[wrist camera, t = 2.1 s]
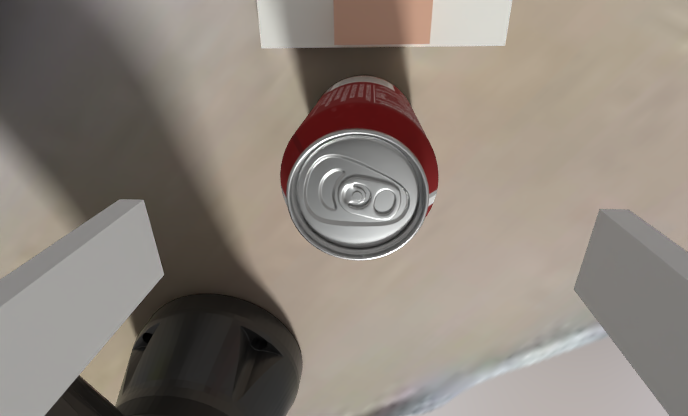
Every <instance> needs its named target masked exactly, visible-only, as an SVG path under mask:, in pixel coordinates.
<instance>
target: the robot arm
mask: <svg viewBox="0 0 688 416" xmlns="http://www.w3.org/2000/svg"><path fill="white" fill-rule="evenodd" d="M163 276H164V272H163V268H162V265H161V261H160V257H159V254H158V250H157V246H156V243H155V239H154V236H153V232H152V228H151V225H150V221H149V217H148V214H147V210H146V206H145V203H144V200H133V199H119V200H118V201H116V202H115V203H113V204H112V205H110V206H109V207H107V208H106V209H104V210H103V211H101V212H100V213H98V214H97V215H95V216H94V217H92V218H91V219H89V220H88V221H86V222H85V223H83V224H82V225H81V226H79V227H78V228H76V229H75V230H73V231H72V232H70V233H69V234H67V235H66V236H64V237H63V238H61V239H60V240H58V241H57V242H55V243H54V244H52V245H51V246H49V247H48V248H46V249H45V250H43V251H42V252H40V253H39V254H38V255H36V256H35V257H33V258H32V259H30V260H29V261H27V262H26V263H24V264H23V265H21V266H20V267H18V268H17V269H15V270H14V271H12V272H11V273H9V274H8V275H6V276H5V277H3V278H2V279H0V416H286V414H287V413H288V411H289V409H290V408H291V406H292V404H293V403H294V400H295V398H296V395H297V392H298V388H299V383H300V379H301V374H302V356H301V352H300V349H299V346H298V344H297V342H296V340H295V339H294V337H293V336H292V334H291V333H290V332H289V330H288V329H287V328H286V327H285V326H284V325H283V324H282V323H281V322H280V321H279V320H278V319H276V318H275V317H274V316H273V315H271V314H270V313H268V312H267V311H265V310H263V309H262V308H260V307H258V306H256V305H254V304H251V303H249V302H246V301H244V300H241V299H237V298H233V297H229V296H224V295H216V294H198V295H190V296H185V297H182V298H179V299H176V300H173V301H171V302H169V303H167V304H166V305H164V306H163V307H161V308H160V309H159V310H158V311H157V312H156V313H155V314H154V315H153V316H152V318H151V319H150V320H149V322H148V323H147V324H146V326H145V327H144V328H143V329H142V331H141V332H140V334H139V335H138V337H137V339H136V341H135V344H134V346H133V349H132V353H131V356H130V359H129V363H128V366H127V369H126V373H125V376H124V379H123V383H122V386H121V389H120V393H119V396H118V399H117V403H116V405H115V406H114V405H113V404H111V403H110V402H109V401H108V400H107V399H106V398H105V397H103V396H102V395H101V394H100V393H99V392H98V391H97V390H95V389H94V388H93V387H92V386H91V385H90V384H89V383H87V382H86V381H85V380H84V379H83V378H82V377H81V376H79V374H80V373H81V372H82V371H83V370H84V369H85V367H86V366H87V365H88V364H89V363H90V362H91V360H92V359H93V358H94V357H95V356H96V354H97V353H98V352H99V351H100V350H101V349H102V347H103V346H104V345H105V344H106V343H107V342H108V340H109V339H110V338H111V337H112V336H113V334H114V333H115V332H116V331H117V330H118V329H119V327H120V326H121V325H122V324H123V323H124V322H125V320H126V319H127V318H128V317H129V316H130V314H131V313H132V312H133V311H134V310H135V309H136V307H137V306H138V305H139V304H140V303H141V301H142V300H143V299H144V298H145V297H146V296H147V294H148V293H149V292H150V291H151V290H152V289H153V287H154V286H155V285H156V284H157V283H158V281H159V280H160V279H161V278H162V277H163ZM574 290H575V292H576V293H577V294H578V296H579V297H580V298H581V300H582V301H583V302H584V303H585V305H586V306H587V307H588V309H589V310H590V311H591V313H592V314H593V315H594V317H595V318H596V319H597V321H598V322H599V323H600V325H601V326H602V327H603V329H604V330H605V331H606V332H607V334H608V335H609V336H610V338H611V339H612V340H613V342H614V343H615V344H616V346H617V347H618V348H619V350H620V351H621V352H622V354H623V355H624V356H625V358H626V359H627V360H628V361H629V363H630V364H631V365H632V367H633V368H634V369H635V371H636V372H637V373H638V375H639V376H640V377H641V379H642V380H643V381H644V382H645V384H646V385H647V387H648V388H649V389H650V390H651V392H652V393H653V394H654V396H655V397H656V398H657V400H658V401H659V402H660V404H661V405H662V406H663V408H664V409H665V410H666V411H667V413H668V414H669V416H688V252H687V251H686V250H684V249H683V248H681V247H680V246H679V245H677V244H676V243H675V242H673V241H672V240H670V239H669V238H668V237H666V236H665V235H663V234H662V233H661V232H659V231H658V230H656V229H655V228H654V227H652V226H651V225H649V224H648V223H647V222H645V221H644V220H643V219H641V218H640V217H638V216H637V215H636V214H634V213H633V212H631V211H630V210H622V209H599V212H598V216H597V219H596V222H595V225H594V228H593V231H592V234H591V237H590V240H589V244H588V247H587V250H586V253H585V256H584V259H583V262H582V265H581V268H580V272H579V275H578V278H577V281H576V284H575V287H574Z"/></svg>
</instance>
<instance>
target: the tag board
mask: <svg viewBox="0 0 688 416" xmlns="http://www.w3.org/2000/svg"><path fill="white" fill-rule="evenodd" d="M511 5H512V0H257V8H258V18H259V28H260V38H261V48H333V47H427V46H505V42H506V36H507V30H508V24H509V17H510V11H511Z"/></svg>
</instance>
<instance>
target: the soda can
mask: <svg viewBox="0 0 688 416" xmlns="http://www.w3.org/2000/svg"><path fill="white" fill-rule="evenodd" d="M280 178H281V188H282V193H283V196H284V199H285V202H286V204H287V207H288V210H289V213H290V216H291V219H292V221H293V223H294V225H295V226H296V228H297V229H298V231H299V232H300V233H301V235H302V236H303V237H304V238H305V239H306V240H307V241H308V242H309V243H311V244H312V245H313V246H315V247H316V248H317V249H319V250H321V251H323V252H325V253H327V254H329V255H332V256H334V257H338V258H342V259H347V260H370V259H375V258H380V257H383V256H386V255H388V254H390V253H393V252H394V251H396V250H398V249H400V248H401V247H403V246H404V245H405V244H406V243H408V242H409V241H410V240H411V239H412V238H413V236H414V235H415V234H416V233H417V231H418V230H419V229H420V227H421V225H422V223H423V221H424V219H425V217H426V216H427V214H428V213H429V211H430V209H431V207H432V205H433V202H434V200H435V196H436V193H437V188H438V166H437V161H436V157H435V154H434V151H433V149H432V147H431V145H430V142H429V140H428V139H427V137H426V135H425V133H424V131H423V129H422V127H421V125H420V123H419V121H418V119H417V117H416V115H415V113H414V111H413V109H412V107H411V105H410V104H409V102H408V100H407V98H406V97H405V96H404V94H403V93H402V92H401V91H400V90H399V89H398V88H397V87H396V86H394V85H393V84H391V83H390V82H388V81H386V80H384V79H381V78H378V77H374V76H367V75H359V76H353V77H349V78H346V79H343V80H341V81H339V82H337V83H336V84H334V85H333V86H331V87H330V88H329V89H328V90H327V91H326V92H325V93H324V94H323V95H322V97H321V98H320V99H319V101H318V102H317V104H316V105H315V106H314V108H313V109H312V110H311V112H310V113H309V114H308V116H307V117H306V119H305V120H304V121H303V123H302V124H301V125H300V127H299V128H298V129H297V131H296V132H295V134H294V135H293V136H292V138H291V140H290V141H289V143H288V145H287V147H286V150H285V152H284V156H283V159H282V164H281V172H280Z"/></svg>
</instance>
